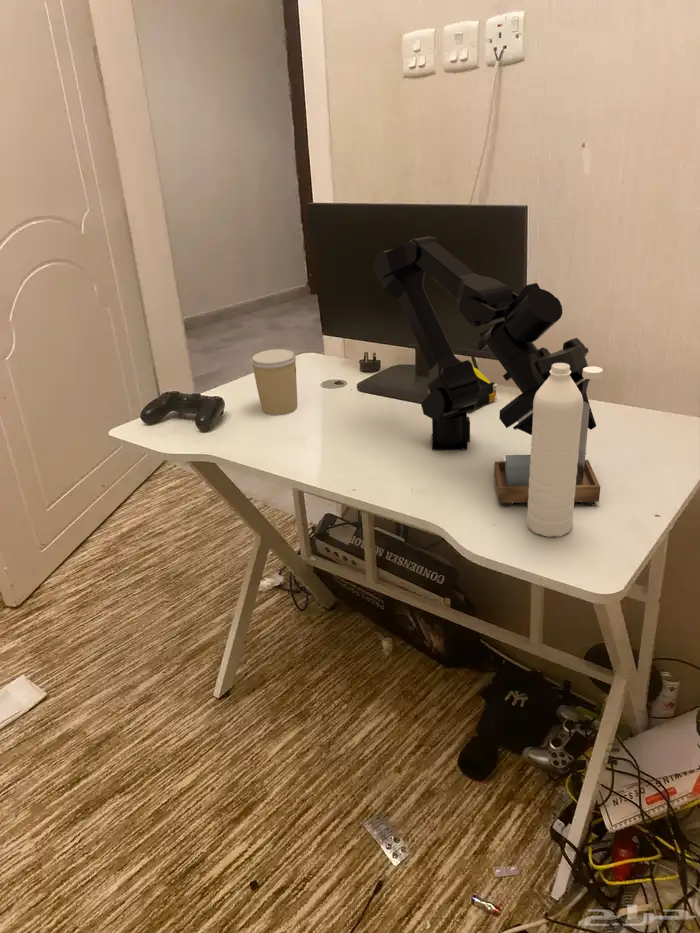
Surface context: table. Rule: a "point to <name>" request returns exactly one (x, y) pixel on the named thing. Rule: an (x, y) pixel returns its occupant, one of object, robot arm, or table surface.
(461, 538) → the table surface
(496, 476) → the walnut tray
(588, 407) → the metal cylinder
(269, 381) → the coffee cup
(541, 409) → the water bottle
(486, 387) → the gaming controller
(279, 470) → the table surface
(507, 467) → the pale grey cube
